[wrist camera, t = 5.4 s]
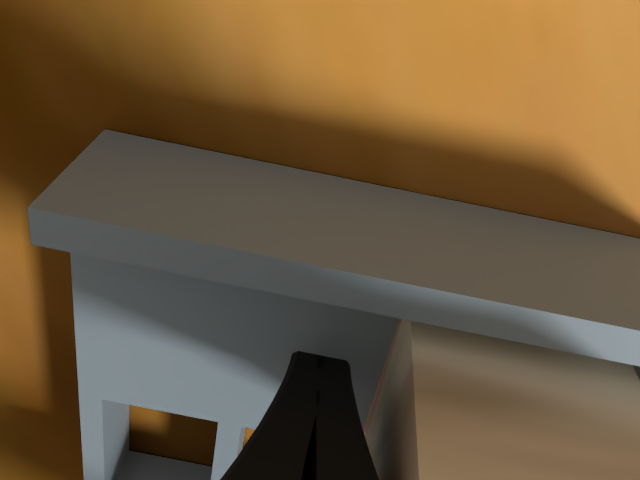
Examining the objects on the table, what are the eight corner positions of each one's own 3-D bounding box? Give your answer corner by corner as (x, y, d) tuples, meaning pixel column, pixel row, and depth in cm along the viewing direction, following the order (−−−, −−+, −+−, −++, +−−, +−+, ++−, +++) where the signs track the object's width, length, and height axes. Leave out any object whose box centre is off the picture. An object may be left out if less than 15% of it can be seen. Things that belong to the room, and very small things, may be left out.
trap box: (494, 536, 21) (512, 652, 18) (111, 462, 20) (64, 566, 17) (670, 244, 14) (745, 352, 11) (104, 129, 14) (27, 207, 11)
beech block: (540, 467, 15) (590, 669, 12) (364, 434, 15) (358, 627, 12) (618, 335, 13) (714, 537, 9) (408, 295, 13) (419, 483, 9)
